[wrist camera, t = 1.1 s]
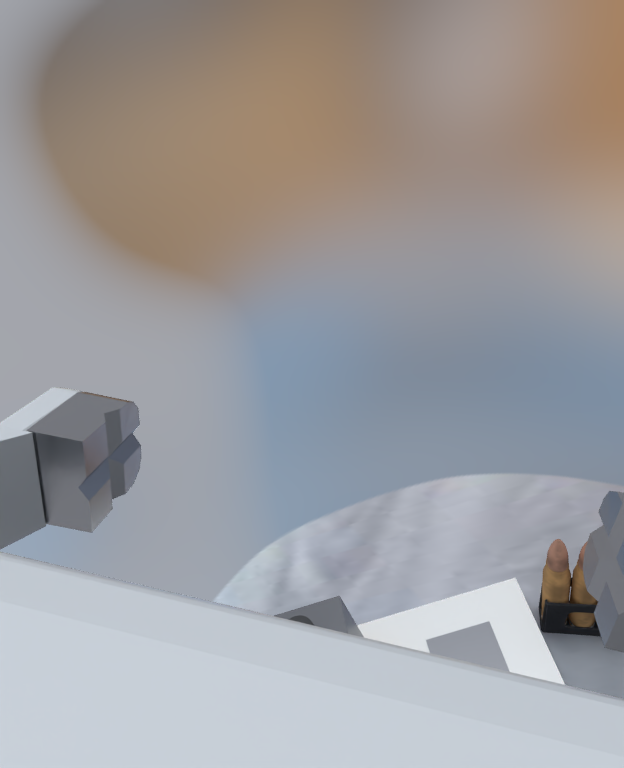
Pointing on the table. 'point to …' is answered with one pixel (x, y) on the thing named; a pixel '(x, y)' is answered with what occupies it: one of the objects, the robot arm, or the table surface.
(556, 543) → the ammunition clip
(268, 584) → the table surface
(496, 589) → the power strip
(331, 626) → the plug
